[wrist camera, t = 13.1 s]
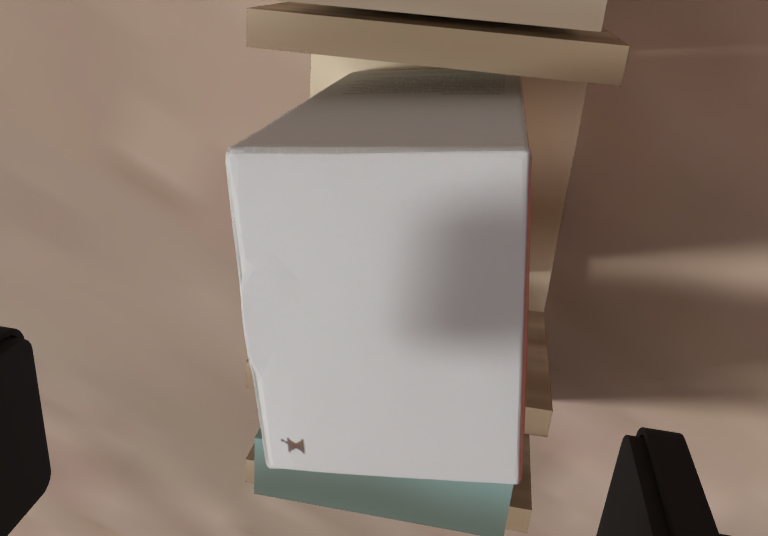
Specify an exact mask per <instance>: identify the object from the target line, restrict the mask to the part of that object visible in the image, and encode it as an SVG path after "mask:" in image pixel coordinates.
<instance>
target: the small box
mask: <svg viewBox="0 0 768 536" xmlns="http://www.w3.org/2000/svg"><path fill="white" fill-rule="evenodd" d="M521 78H522V76H516V75H507V74H497V73H488V72H479V71H469V70H460V69H436V70H397V71H358V72H352V73H350V74H348V75H346V76H345V77H343V78H341V79H340V80H338V81H336V82H335V83H333V84H331V85H330V86H328V87H326V88H325V89H324V90H322V91H320V92H319V93H317V94H316V95H314V96H313V97H311V98H310V99H308V100H307V101H305V102H303V103H302V104H300V105H298V106H297V107H295V108H294V109H292V110H290V111H289V112H287V113H285V114H284V115H282V116H281V117H279V118H278V119H276V120H274V121H273V122H271V123H270V124H268V125H267V126H265V127H264V128H262V129H260V130H259V131H257V132H255V133H254V134H252V135H250V136H249V137H247V138H246V139H244V140H242V141H240V142H239V143H237V144H235V145H233V146H231V147H229V148H228V150H227V152H226V159H225V164H226V171H227V182H228V191H229V199H230V207H231V216H232V226H233V234H234V241H235V249H236V257H237V265H238V274H239V281H240V293H241V308H242V320H243V328H244V335H245V341H246V346H247V353H248V359H249V363H250V367H251V371H252V376H253V381H254V387H255V394H256V400H257V407H258V415H259V421H260V426H261V432H262V441H263V447H264V455H265V461H266V465H267V467H269V468H270V469H291V470H301V471H312V472H324V473H337V474H352V475H367V476H382V477H397V478H415V479H434V480H448V481H464V482H484V483H502V484H519V483H520V482H521V480H522V472H523V455H524V431H525V406H526V381H527V350H528V311H529V269H530V229H531V173H532V153H531V150H530V148H529V141H528V133H527V125H526V115H525V108H524V98H523V92H522V79H521Z"/></svg>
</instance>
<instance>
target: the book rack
mask: <svg viewBox="0 0 768 536" xmlns="http://www.w3.org/2000/svg"><path fill="white" fill-rule="evenodd" d="M277 1H287V2H284V3H278V4H271V5H264V6H258V7H251V8H247V47H252V48H261V49H271V50H280V51H290V52H299V53H309V54H312V55H311V81H310V98H311V97H313V96H314V95H316V94H317V93H319V92H320V91H322V90H324V89H325V88H326V87H328V86H330V85H331V84H333V83H335V82H336V81H338V80H340V79H341V78H343V77H345V76H346V75H348V74H350V73H352V72H358V71H397V70H436V69H460V70H469V71H479V72H488V73H497V74H507V75H516V76H522V78H521V79H522V92H523V98H524V108H525V115H526V125H527V133H528V141H529V148H530V150H531V153H532V173H531V229H530V269H529V311H528V350H527V381H526V406H525V431H524V455H523V472H522V480H521V482H520V483H519V484H502V483H484V482H464V481H448V480H434V479H415V478H397V477H382V476H367V475H352V474H337V473H324V472H312V471H301V470H291V469H270V468H269V467H267V465H266V461H265V455H264V447H263V441H262V432H261V427H260V429H259V431H258V433H257V435H256V436H255V443H254V445H253V447H252V449H251V450H250V452H249V454H248V456H247V458H246V482H250V483H254V494H259V495H265V496H270V497H275V498H281V499H286V500H292V501H297V502H303V503H308V504H313V505H319V506H324V507H330V508H335V509H340V510H346V511H351V512H357V513H362V514H368V515H373V516H378V517H384V518H389V519H395V520H400V521H405V522H411V523H416V524H422V525H427V526H433V527H438V528H443V529H449V530H454V531H460V532H465V533H470V534H476V535H481V536H504V531H505V529H507V530H513V531H518V532H524V533H527V531H528V526H529V521H530V516H531V512H532V502H531V473H530V443H529V434H530V435H536V436H542V437H547V436H548V431H549V426H550V422H551V417H552V412H553V409H552V398H551V386H550V375H549V364H548V353H547V341H546V330H545V319H544V309H545V304H546V299H547V294H548V289H549V283H550V278H551V273H552V268H553V263H554V257H555V252H556V247H557V242H558V237H559V231H560V226H561V221H562V216H563V211H564V205H565V200H566V195H567V190H568V185H569V179H570V174H571V169H572V164H573V158H574V153H575V148H576V143H577V138H578V132H579V127H580V122H581V117H582V112H583V106H584V101H585V96H586V91H587V86H588V83H592V84H601V85H611V86H620V87H621V85H622V80H623V76H624V71H625V66H626V61H627V57H628V52H629V47H630V46H629V45H627V44H626V43H624V42H623V41H621V40H620V39H618V38H617V37H615V36H614V35H613V34H611V33H610V32H608V31H607V30H605V29H604V28H602V26H603V20H604V15H605V10H606V5H607V0H277ZM246 387H247V388H253V389H255V387H254V381H253V376H252V371H251V367H250V363H249V359H247V361H246Z"/></svg>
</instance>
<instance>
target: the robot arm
mask: <svg viewBox="0 0 768 536" xmlns="http://www.w3.org/2000/svg"><path fill="white" fill-rule="evenodd" d="M50 476H51V467H50V461H49V454H48V448H47V441H46V435H45V428H44V422H43V415H42V409H41V402H40V395H39V389H38V382H37V376H36V369H35V363H34V356H33V350H32V346H31V344H30V342H29V341H27V340H25V339H24V336H23V334H22V333H21V332H20V331H19V330H17V329H14V328H7V327H1V326H0V536H8V534H9V533H10V532H11V531H12V530H13V529H14V527H15V526H16V525H17V524H18V523H19V522H20V520H21V519H22V518H23V517H24V516H25V515H26V513H27V512H28V511H29V510H30V509H31V508H32V506H33V505H34V504H35V503H36V502H37V501H38V499H39V498H40V497H41V496H42V495H43V493H44V492H45V490H46V488H47V486H48V484H49V481H50ZM596 536H729V535H723V534H719V533H718V530H717V527H716V524H715V521H714V519H713V516H712V513H711V510H710V507H709V505H708V502H707V499H706V496H705V494H704V491H703V488H702V485H701V482H700V480H699V477H698V474H697V471H696V468H695V466H694V463H693V460H692V457H691V455H690V452H689V449H688V446H687V443H686V441H685V438H684V436H683V435H682V434H680V433H675V432H669V431H662V430H656V429H650V428H643V427H642V428H640V429H639V431H638V432H637V435H636V436H630V435H625V436H624V438H623V440H622V443H621V447H620V451H619V454H618V458H617V462H616V465H615V469H614V473H613V476H612V480H611V484H610V487H609V491H608V495H607V498H606V502H605V506H604V510H603V513H602V517H601V521H600V524H599V528H598V532H597V535H596Z"/></svg>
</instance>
